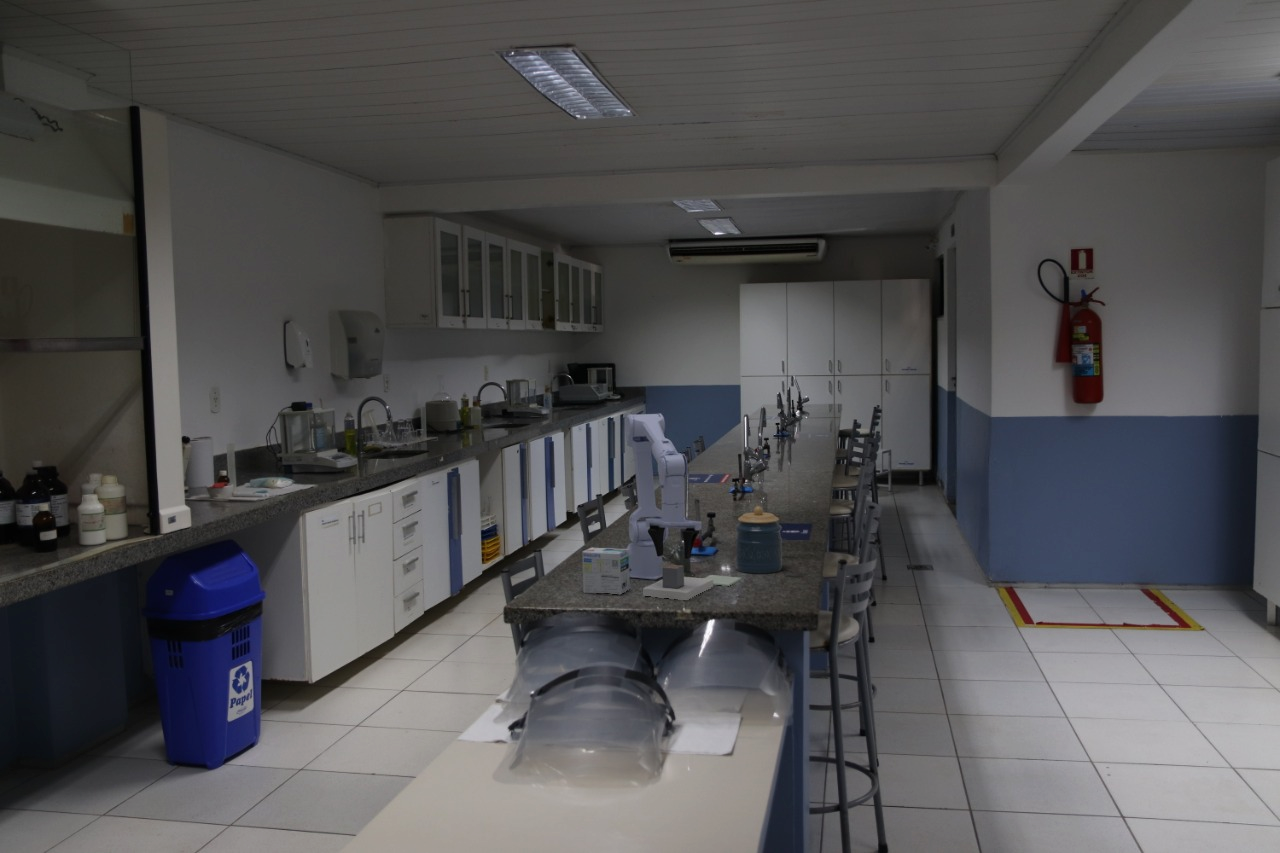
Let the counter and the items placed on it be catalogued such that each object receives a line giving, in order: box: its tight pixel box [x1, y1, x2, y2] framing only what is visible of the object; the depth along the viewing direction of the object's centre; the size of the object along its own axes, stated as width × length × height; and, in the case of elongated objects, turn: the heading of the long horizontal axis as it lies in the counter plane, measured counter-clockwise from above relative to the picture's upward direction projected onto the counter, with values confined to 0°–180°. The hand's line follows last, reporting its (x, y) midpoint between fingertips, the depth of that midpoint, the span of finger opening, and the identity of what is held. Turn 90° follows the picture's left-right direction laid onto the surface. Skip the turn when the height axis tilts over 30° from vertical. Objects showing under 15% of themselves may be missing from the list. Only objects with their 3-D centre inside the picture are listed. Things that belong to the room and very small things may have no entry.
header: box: [642, 576, 714, 601], centre depth 255 cm, size 12×16×2 cm
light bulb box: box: [581, 546, 631, 595], centre depth 257 cm, size 11×7×11 cm, turn 71°
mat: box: [703, 574, 743, 587], centre depth 266 cm, size 9×9×1 cm
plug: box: [662, 564, 685, 589], centre depth 252 cm, size 4×4×7 cm
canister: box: [734, 505, 783, 574], centre depth 280 cm, size 13×13×18 cm
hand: (673, 556), depth 252 cm, fingers open, 7 cm apart
